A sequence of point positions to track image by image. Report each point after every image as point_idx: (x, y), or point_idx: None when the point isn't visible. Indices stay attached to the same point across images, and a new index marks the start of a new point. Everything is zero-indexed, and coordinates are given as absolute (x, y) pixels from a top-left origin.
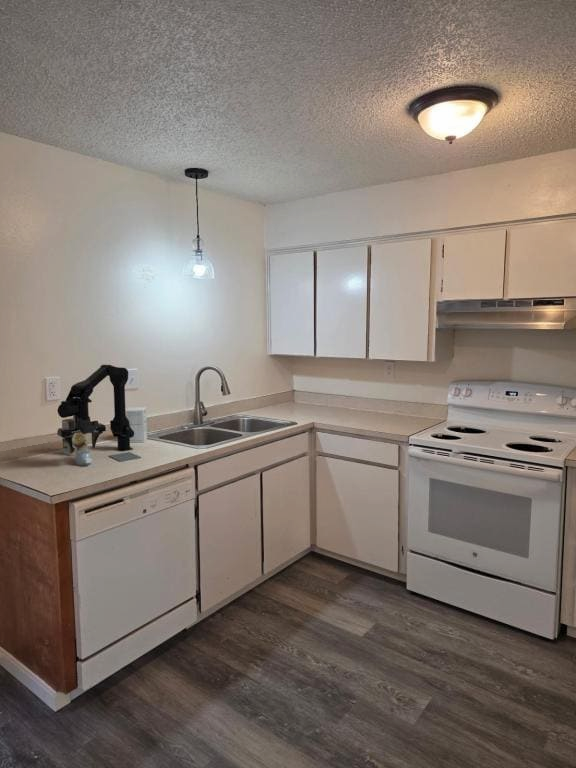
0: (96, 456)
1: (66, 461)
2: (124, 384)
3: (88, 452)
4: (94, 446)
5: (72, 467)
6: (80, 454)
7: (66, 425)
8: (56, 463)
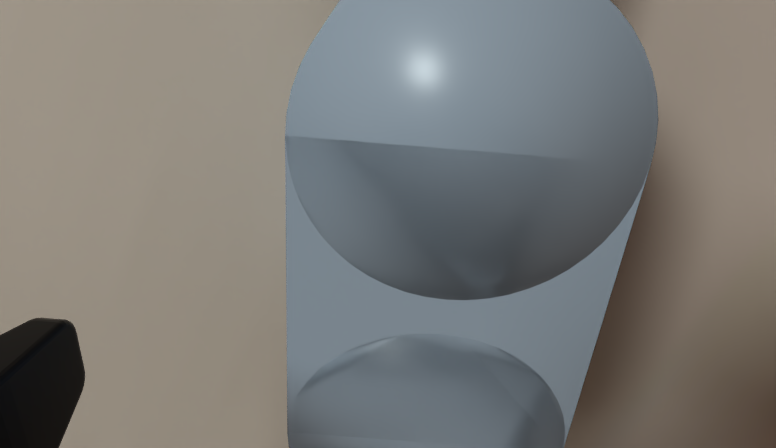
0: None
1: None
2: None
3: (331, 163)
4: (3, 337)
5: (753, 35)
6: (657, 113)
7: None
8: (720, 443)
